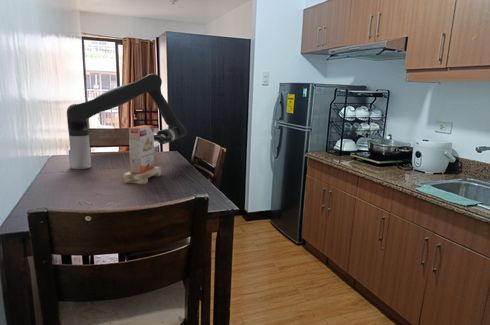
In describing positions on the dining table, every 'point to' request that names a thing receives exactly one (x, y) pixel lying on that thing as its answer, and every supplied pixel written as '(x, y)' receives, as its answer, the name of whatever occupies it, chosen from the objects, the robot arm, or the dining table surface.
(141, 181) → the birch stand
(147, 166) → the cracker box
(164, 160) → the dining table surface
